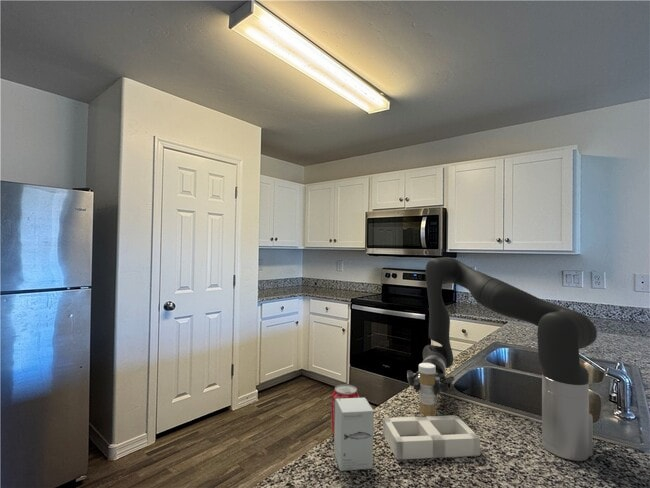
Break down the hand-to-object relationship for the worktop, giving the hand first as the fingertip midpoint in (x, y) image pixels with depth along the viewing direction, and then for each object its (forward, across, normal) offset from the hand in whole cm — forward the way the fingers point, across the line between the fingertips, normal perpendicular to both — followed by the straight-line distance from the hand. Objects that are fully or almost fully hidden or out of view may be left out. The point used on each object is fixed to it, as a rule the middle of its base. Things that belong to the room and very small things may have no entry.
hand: (426, 389), depth 92 cm
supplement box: (+23, -13, +10) cm, 28 cm away
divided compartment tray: (+9, +2, +10) cm, 13 cm away
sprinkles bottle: (-3, 0, +8) cm, 8 cm away
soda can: (+14, -18, +10) cm, 25 cm away
